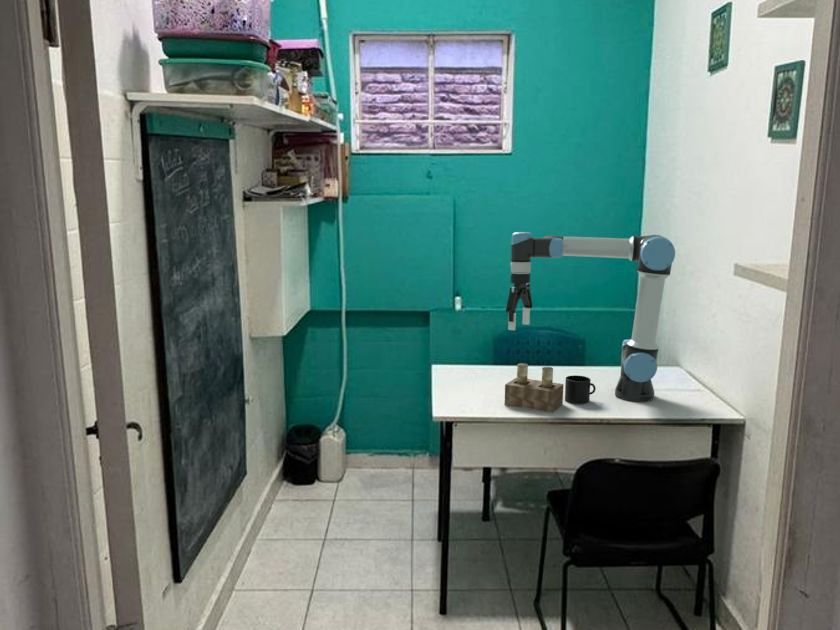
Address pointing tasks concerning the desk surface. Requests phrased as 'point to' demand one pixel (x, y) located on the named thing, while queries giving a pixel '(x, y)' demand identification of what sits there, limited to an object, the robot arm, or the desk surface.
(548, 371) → the peg
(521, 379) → the peg
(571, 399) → the mug
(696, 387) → the desk surface
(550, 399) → the walnut block
